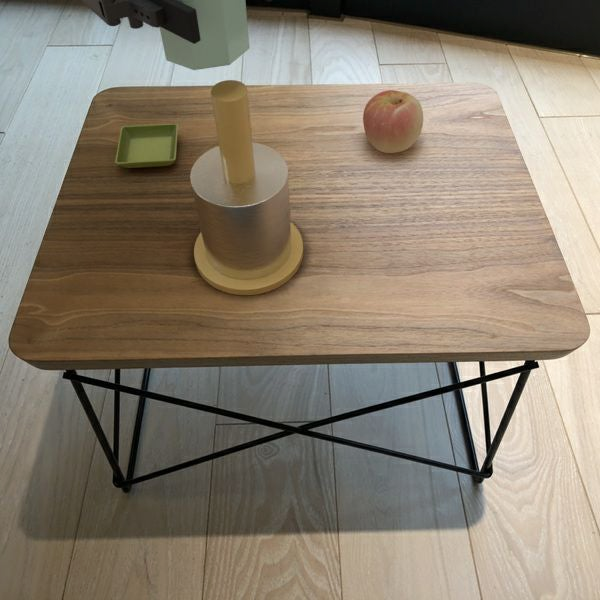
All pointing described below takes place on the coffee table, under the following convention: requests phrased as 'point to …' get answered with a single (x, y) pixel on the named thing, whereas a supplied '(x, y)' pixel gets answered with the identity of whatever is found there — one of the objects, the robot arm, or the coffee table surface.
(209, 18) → the jar
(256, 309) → the coffee table surface
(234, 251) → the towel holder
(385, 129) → the apple
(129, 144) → the saucer
